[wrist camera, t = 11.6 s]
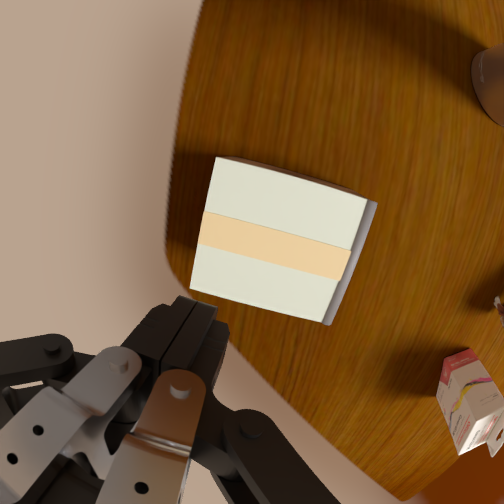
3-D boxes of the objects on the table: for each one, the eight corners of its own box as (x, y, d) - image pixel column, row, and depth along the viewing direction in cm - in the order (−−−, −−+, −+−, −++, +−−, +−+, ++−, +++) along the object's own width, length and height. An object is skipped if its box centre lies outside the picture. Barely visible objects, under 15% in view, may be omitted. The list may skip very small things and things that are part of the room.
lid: (375, 201, 19) (379, 204, 18) (330, 319, 22) (331, 326, 22) (218, 157, 19) (215, 157, 18) (192, 284, 22) (188, 289, 22)
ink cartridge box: (441, 357, 29) (484, 440, 16) (471, 346, 28) (519, 420, 15) (434, 398, 32) (463, 473, 18) (460, 387, 31) (494, 457, 17)
